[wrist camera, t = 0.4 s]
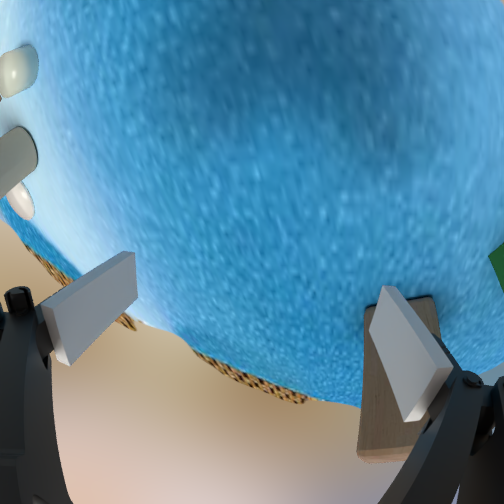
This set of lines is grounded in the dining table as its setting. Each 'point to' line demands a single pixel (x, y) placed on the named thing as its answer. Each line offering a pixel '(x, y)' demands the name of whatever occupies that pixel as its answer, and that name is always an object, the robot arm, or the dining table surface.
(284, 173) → the dining table surface
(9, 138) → the travel mug
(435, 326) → the block
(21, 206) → the saucer
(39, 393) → the robot arm
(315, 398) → the dining table surface
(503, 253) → the hardback book
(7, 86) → the beige rounded cylinder
